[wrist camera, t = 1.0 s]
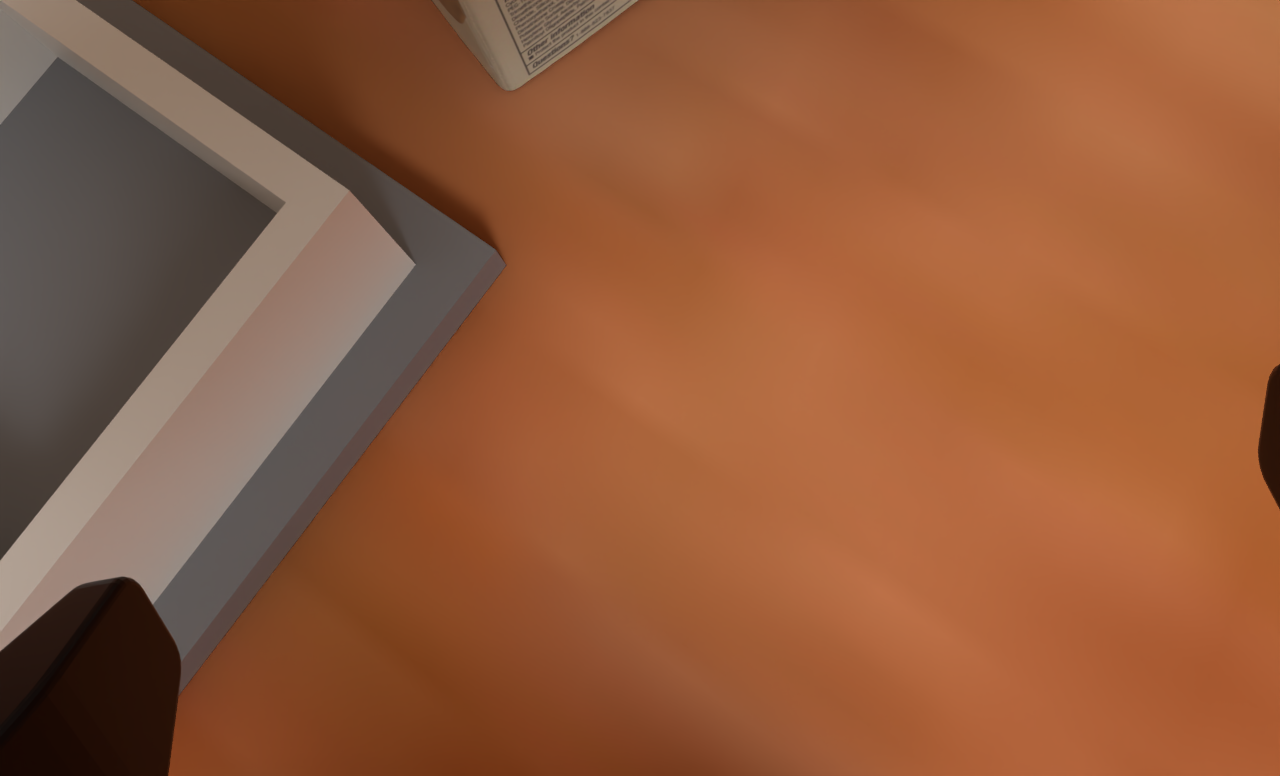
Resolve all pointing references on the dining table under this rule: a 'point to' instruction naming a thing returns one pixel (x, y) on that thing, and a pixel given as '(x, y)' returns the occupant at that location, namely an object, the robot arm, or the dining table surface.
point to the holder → (189, 317)
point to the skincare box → (525, 32)
